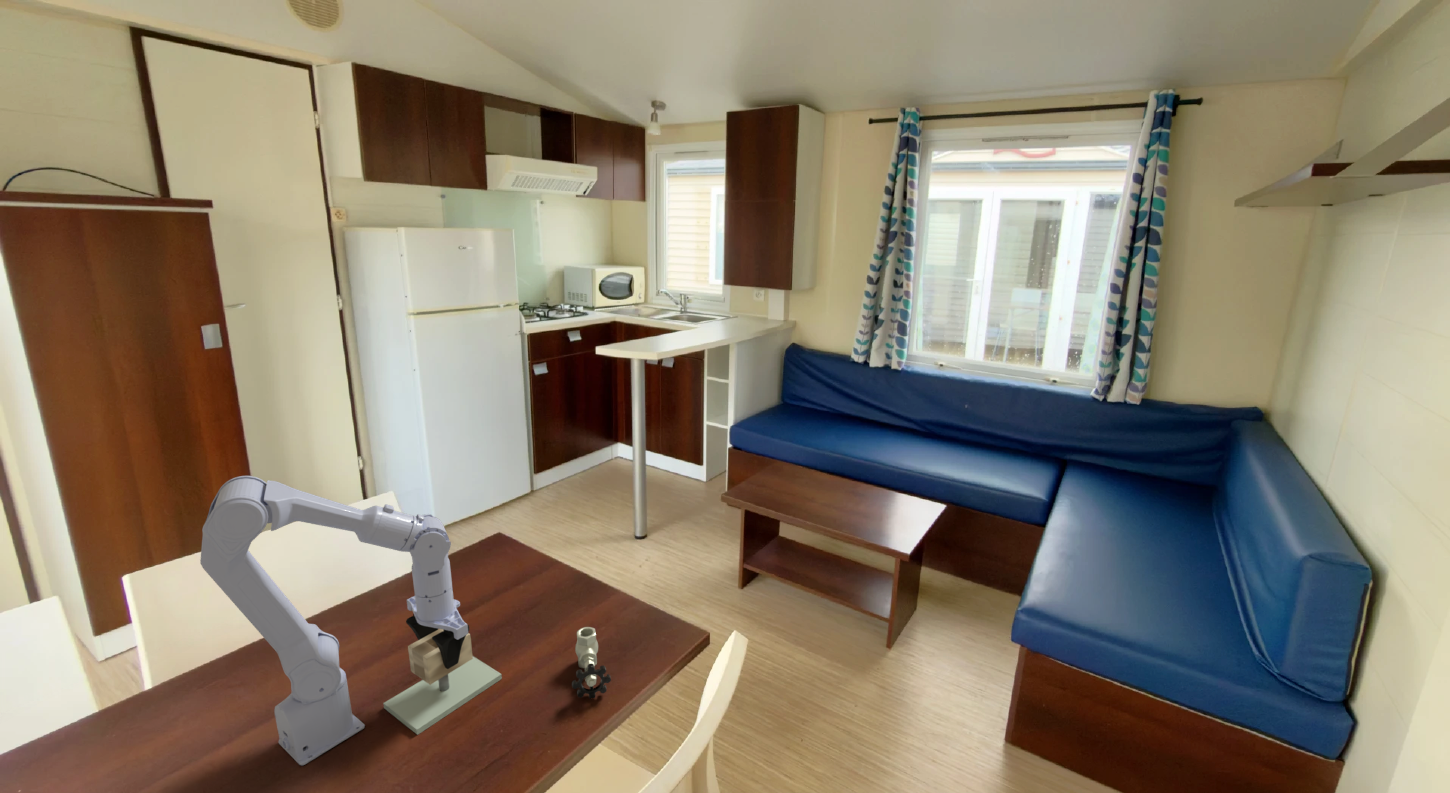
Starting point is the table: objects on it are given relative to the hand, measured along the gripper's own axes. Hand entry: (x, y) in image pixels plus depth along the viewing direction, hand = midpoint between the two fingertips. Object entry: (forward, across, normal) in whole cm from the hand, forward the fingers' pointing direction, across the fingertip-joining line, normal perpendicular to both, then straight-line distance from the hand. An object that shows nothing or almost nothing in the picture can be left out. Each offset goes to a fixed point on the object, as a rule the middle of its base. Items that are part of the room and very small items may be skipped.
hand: (441, 658), depth 108 cm
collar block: (+1, 0, 0) cm, 1 cm away
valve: (+7, -17, -18) cm, 26 cm away
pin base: (+7, 0, 0) cm, 7 cm away
